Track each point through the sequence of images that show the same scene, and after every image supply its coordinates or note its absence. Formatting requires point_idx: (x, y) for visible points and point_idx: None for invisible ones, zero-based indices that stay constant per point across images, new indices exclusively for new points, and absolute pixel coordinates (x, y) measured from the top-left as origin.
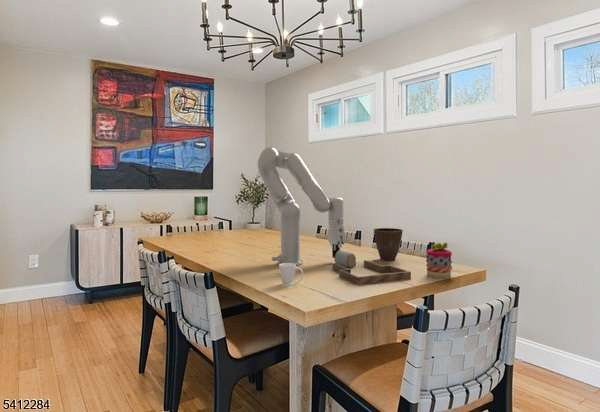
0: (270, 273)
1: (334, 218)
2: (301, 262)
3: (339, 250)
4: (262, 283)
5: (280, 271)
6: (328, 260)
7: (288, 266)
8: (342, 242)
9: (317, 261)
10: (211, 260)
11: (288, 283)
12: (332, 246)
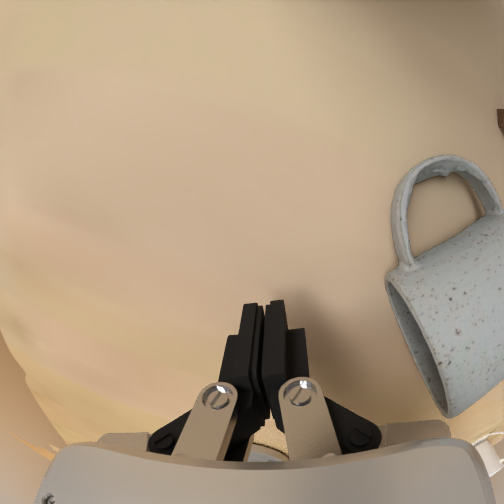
0: None
1: None
2: (270, 456)
3: (459, 412)
4: None
5: None
6: (153, 313)
7: (497, 471)
8: (405, 485)
9: (188, 383)
10: None
11: (476, 444)
12: (237, 461)
